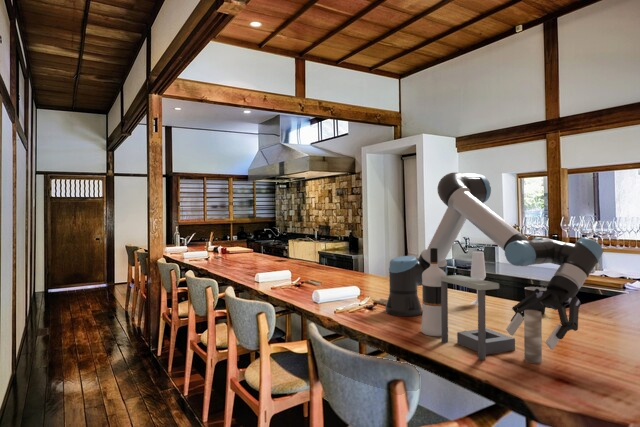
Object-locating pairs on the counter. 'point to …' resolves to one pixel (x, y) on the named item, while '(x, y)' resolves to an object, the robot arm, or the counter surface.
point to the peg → (533, 336)
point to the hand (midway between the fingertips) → (527, 339)
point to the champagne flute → (478, 269)
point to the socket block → (493, 341)
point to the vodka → (432, 297)
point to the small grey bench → (481, 287)
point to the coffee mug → (530, 290)
